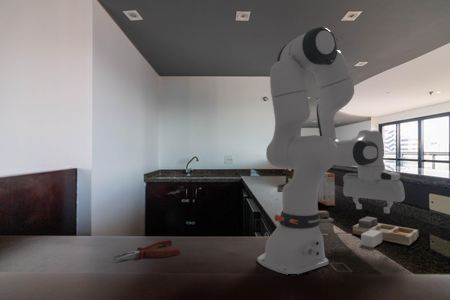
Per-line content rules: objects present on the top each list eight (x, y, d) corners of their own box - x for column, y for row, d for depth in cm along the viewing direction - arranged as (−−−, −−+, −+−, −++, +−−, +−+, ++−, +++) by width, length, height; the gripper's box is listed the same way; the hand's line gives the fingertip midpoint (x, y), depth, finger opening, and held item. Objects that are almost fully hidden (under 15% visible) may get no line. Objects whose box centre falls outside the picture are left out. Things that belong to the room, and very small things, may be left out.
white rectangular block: (373, 248, 91) (372, 236, 91) (361, 245, 94) (361, 234, 94) (382, 242, 96) (382, 231, 96) (371, 239, 99) (370, 229, 100)
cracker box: (335, 205, 165) (335, 173, 166) (326, 205, 165) (325, 173, 166) (326, 201, 179) (326, 171, 180) (318, 201, 179) (317, 172, 180)
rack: (409, 245, 92) (408, 230, 92) (352, 233, 107) (352, 220, 107) (418, 237, 101) (418, 223, 101) (365, 227, 116) (365, 215, 116)
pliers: (112, 256, 86) (112, 248, 86) (170, 245, 96) (170, 238, 96) (116, 269, 76) (116, 260, 76) (181, 256, 86) (181, 248, 86)
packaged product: (298, 213, 125) (291, 209, 135) (298, 223, 125) (291, 218, 135) (333, 212, 126) (324, 208, 136) (334, 222, 126) (324, 217, 136)
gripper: (339, 173, 101) (340, 208, 101) (400, 175, 86) (401, 217, 86) (346, 172, 106) (347, 205, 105) (405, 174, 90) (407, 213, 90)
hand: (372, 210), depth 96 cm, fingers open, 8 cm apart
